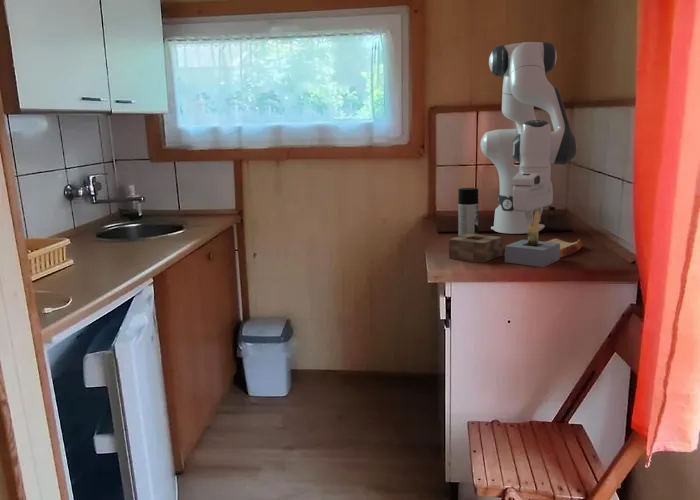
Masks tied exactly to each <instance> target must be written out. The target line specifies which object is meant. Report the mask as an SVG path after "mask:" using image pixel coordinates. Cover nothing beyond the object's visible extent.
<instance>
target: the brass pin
mask: <svg viewBox="0 0 700 500" xmlns="http://www.w3.org/2000/svg"><path fill="white" fill-rule="evenodd" d="M532 214H533V218H534V224H532V225H528V233H527V240H528V246H533V247H538V241H539V232H540V231H539V224H540V222H539V210H533V213H532ZM538 231H539V232H538Z"/></svg>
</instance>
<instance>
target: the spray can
mask: <svg viewBox="0 0 700 500" xmlns="http://www.w3.org/2000/svg"><path fill="white" fill-rule="evenodd" d="M457 196H458V200H457V201H458V202H457V205H458V213H457V214H458V216H457V217H458V219H457V220H458V221H457V222H458V226H457V227H458V229H457V230H458V233H457V234H458V237H459V236H462V235H465V234H478V235H479V188H477V187H460V188H458V195H457Z"/></svg>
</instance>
